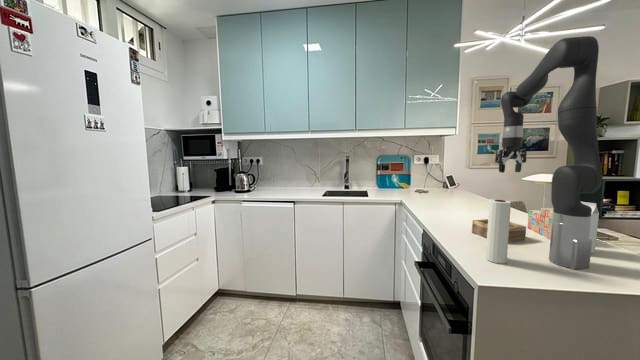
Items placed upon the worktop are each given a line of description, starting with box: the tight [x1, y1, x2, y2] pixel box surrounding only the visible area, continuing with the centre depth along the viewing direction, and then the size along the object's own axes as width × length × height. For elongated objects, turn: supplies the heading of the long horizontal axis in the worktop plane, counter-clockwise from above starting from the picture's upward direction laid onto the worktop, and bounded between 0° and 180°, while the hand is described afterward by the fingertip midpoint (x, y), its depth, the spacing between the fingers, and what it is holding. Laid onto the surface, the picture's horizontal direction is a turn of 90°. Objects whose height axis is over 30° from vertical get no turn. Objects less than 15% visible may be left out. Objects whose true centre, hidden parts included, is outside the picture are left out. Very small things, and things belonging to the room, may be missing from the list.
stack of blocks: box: [527, 207, 553, 240], centre depth 119 cm, size 21×6×12 cm, turn 169°
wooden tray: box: [471, 218, 527, 243], centre depth 118 cm, size 14×14×6 cm
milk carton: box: [580, 201, 600, 254], centre depth 99 cm, size 7×7×19 cm
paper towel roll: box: [485, 198, 512, 264], centre depth 92 cm, size 7×6×21 cm
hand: (509, 172), depth 122 cm, fingers open, 8 cm apart
